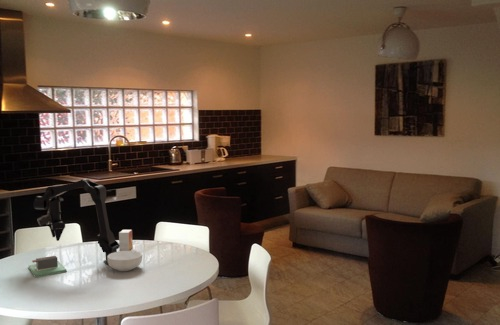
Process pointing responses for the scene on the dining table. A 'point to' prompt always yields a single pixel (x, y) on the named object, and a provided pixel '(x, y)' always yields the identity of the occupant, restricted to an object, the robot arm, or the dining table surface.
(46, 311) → the dining table surface
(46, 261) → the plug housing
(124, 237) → the small box
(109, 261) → the cereal bowl
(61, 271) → the pin board
